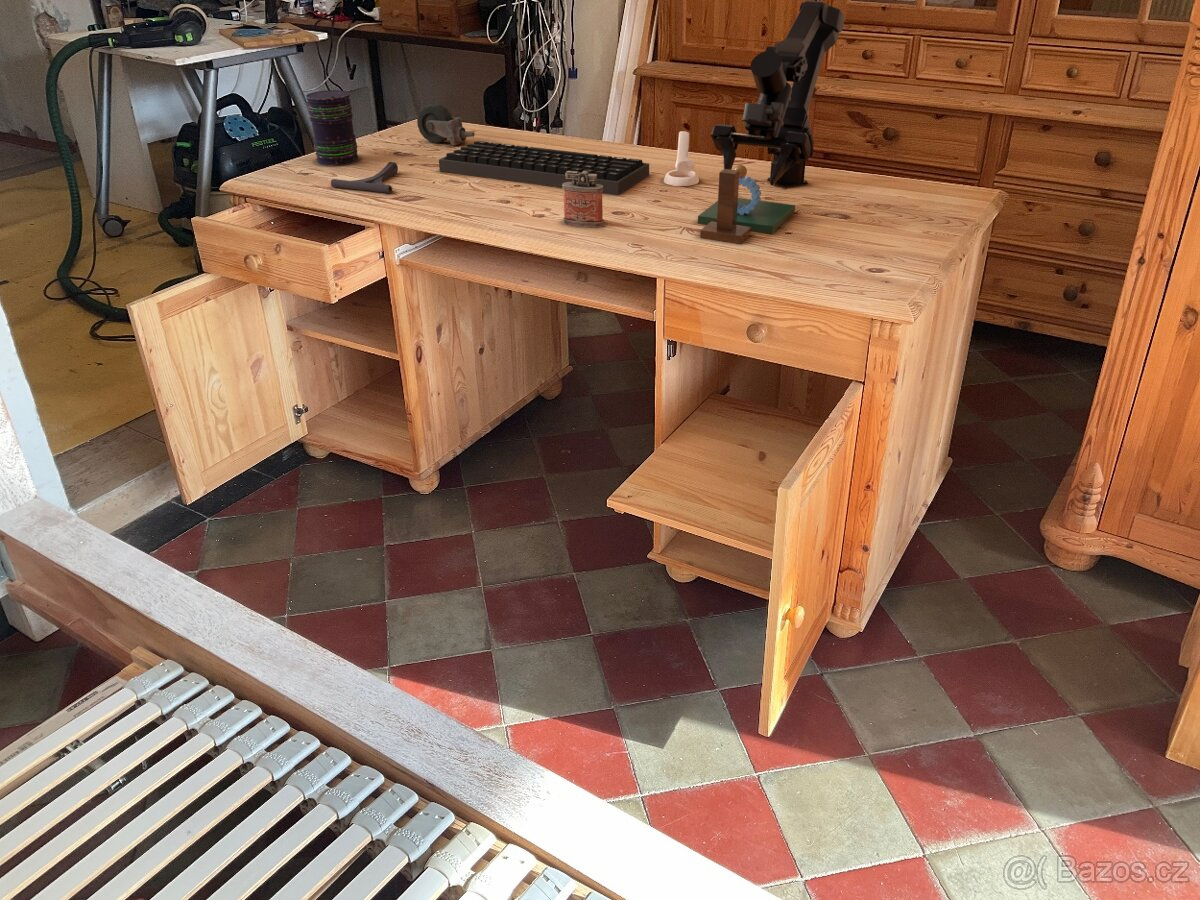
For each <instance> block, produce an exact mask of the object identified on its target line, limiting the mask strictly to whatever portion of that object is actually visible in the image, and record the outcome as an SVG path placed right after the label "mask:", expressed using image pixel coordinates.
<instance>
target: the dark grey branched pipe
mask: <svg viewBox="0 0 1200 900" xmlns="http://www.w3.org/2000/svg"><path fill="white" fill-rule="evenodd" d="M398 171H399V167H398V164H397V162H395V161H388V162H387V164H386V165H385V166H384V167H383V168H382V169H381V170H380V171H378V172H377V173H376V174H375V175H373V176H370V177H366V178H361V179H353V180H345V179H336V178H332V179H331V180H330V186H331V187H332V188H341V189H349V190H350V189H351V190H358V191H367V192H375V193H384V194H391V193H393V186H392V185H390V184H384V181H385V180H387V179H389V178H391V177H394V176H396V174H398Z"/></svg>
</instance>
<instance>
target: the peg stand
mask: <svg viewBox="0 0 1200 900" xmlns="http://www.w3.org/2000/svg"><path fill="white" fill-rule="evenodd" d="M747 173H748V169H747V168H746V166H745V165H743V164H739V165H736V166H735V168H734V169H731V170H730V169H724V168H723V169H722V170H720V171H719V173H718V191H717V192H718V193H717V201H718V210H717V222H712V221H711V222H710V223H709V224H707V225H706V224H705V226H704V227H702V228H701V229H700V231H699V233H700V234H699V238H700V239H706V240H712V241H713V240H714V241H719V242H720V241H721V242H727V243H732V244H738V245H739V244H740V245H741V244H742V243H744V241H746V240H747V239H748V238H749V237H750V236H752V231H751V227H747V226H740V225H736V223H737V206H738V198H739V190H740V189H739V188H740V185H739V178H744V177H745V178H746V177H747V175H748V174H747Z"/></svg>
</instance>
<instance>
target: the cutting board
mask: <svg viewBox="0 0 1200 900" xmlns="http://www.w3.org/2000/svg"><path fill="white" fill-rule="evenodd" d="M751 200H752V198H743V197H738V205H739V204H741V205H742V206H744V205H747V206H748V205H749V204H750V203H751ZM717 210H718V200H716V201H715V202H714V203H713V204H711V205H710V206H708V207H707V208H706V209H704V211H702V212H701V213H700V214H699V215H697V224H701V225H705V226H706V225H707V224H709V223H710V222H711V221H712V222H717ZM795 212H796V205H795V204H791V203H790V204H789V203H783V202H782V203H781V202H773V201H767V200H760V202H759V203H758V206H757V207H756V208H755V209H753V210H752V211H751V212H750V213H748V214H746V213H745V214H743V215H740V214H739V213H738V214H737V223H736V225H740V226H747V227H751V232H756V233H763V234H770V235H773V234H774V233H776V231H778V229H779V228H780V227H781V226H782V225H783V224H784V223H785V222H786V221H787V220H789V219H790V218H791V217H792V216H793V215H794V214H795Z"/></svg>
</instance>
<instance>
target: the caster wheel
mask: <svg viewBox="0 0 1200 900" xmlns="http://www.w3.org/2000/svg"><path fill="white" fill-rule="evenodd" d="M416 123H417V124H416V126H417V128H418V130H419V133H420V134H421V136H422V137H423V139H425V140H427V141H428V142H429V143H434V144H440V143H442V142H445V141H447V140H449V141H450V145H451V146H452V147H455V146H458V145H460V144H462V143H465V142H466V140H467V138H471V137H472V138H474V137H475V135H476V134H475V132H474V131H466V128H465V127H463V121H462V117H459V116H458V117H456V116H455V117H453V116H452V113H451V112H450V111H449V110H448V108H446V107H445V106H443V104H441V103H430V104H427V105H425V106H423V107H422V108H421V109H420V110H419V112H418V115H417V117H416Z"/></svg>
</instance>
